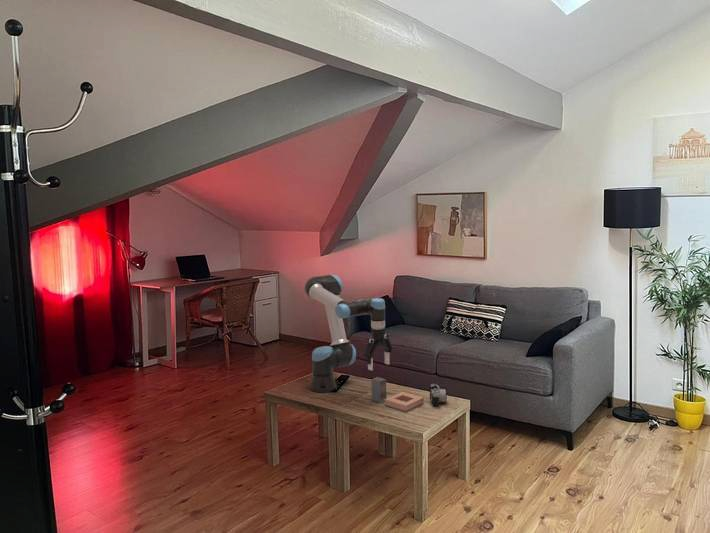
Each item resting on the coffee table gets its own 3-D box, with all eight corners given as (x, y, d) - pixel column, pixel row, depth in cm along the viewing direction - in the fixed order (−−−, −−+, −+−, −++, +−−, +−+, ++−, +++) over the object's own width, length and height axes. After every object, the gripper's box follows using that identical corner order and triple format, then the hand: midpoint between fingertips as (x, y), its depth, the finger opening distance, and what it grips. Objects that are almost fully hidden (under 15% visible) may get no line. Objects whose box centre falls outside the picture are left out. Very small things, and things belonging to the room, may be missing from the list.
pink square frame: (384, 405, 304) (384, 399, 304) (402, 397, 315) (402, 391, 314) (405, 412, 295) (405, 405, 294) (423, 404, 305) (423, 397, 305)
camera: (447, 408, 299) (447, 390, 297) (430, 408, 299) (430, 390, 298) (444, 397, 314) (444, 380, 313) (428, 397, 314) (428, 380, 313)
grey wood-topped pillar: (371, 400, 312) (371, 379, 310) (377, 398, 315) (377, 376, 314) (380, 403, 308) (380, 381, 306) (386, 400, 311) (386, 379, 310)
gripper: (367, 333, 294) (368, 373, 297) (398, 324, 312) (399, 362, 315) (357, 331, 299) (357, 371, 302) (387, 322, 317) (388, 360, 320)
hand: (378, 366), depth 309 cm, fingers open, 13 cm apart
